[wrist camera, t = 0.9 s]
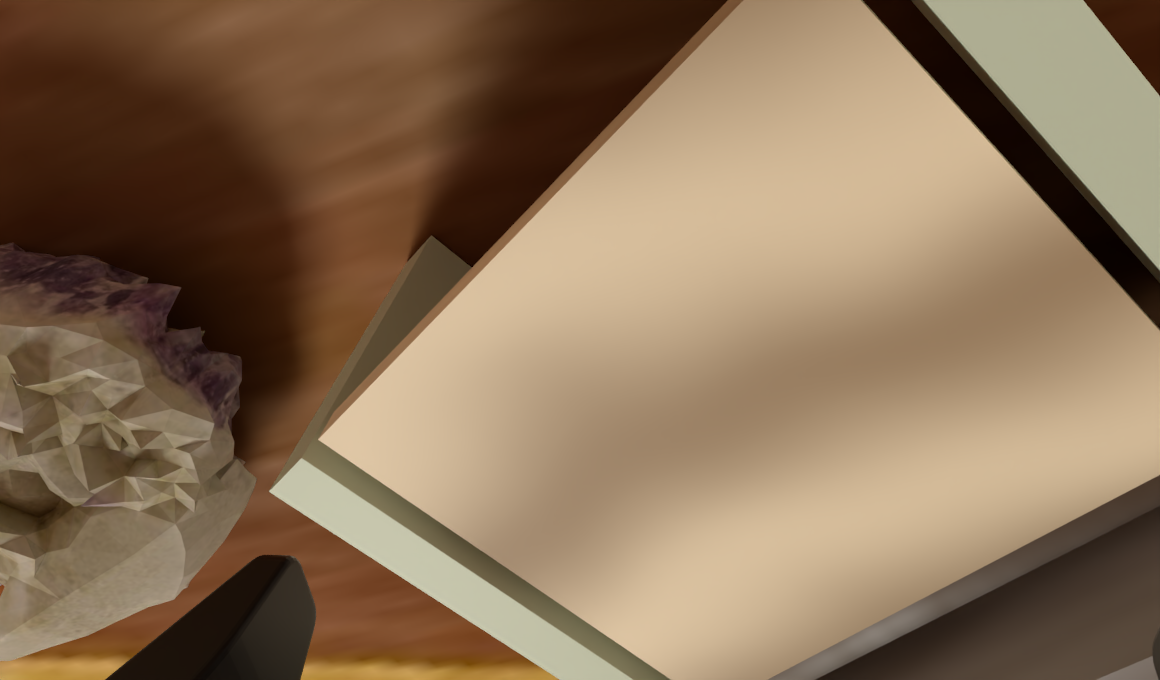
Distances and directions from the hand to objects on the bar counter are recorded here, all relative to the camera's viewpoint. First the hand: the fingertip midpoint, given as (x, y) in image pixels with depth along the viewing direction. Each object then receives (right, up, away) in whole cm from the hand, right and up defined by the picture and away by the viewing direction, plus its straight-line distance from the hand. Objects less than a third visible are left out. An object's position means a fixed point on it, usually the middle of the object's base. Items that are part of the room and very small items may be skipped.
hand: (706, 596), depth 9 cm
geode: (-18, +1, +19) cm, 26 cm away
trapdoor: (+4, +1, +8) cm, 9 cm away
